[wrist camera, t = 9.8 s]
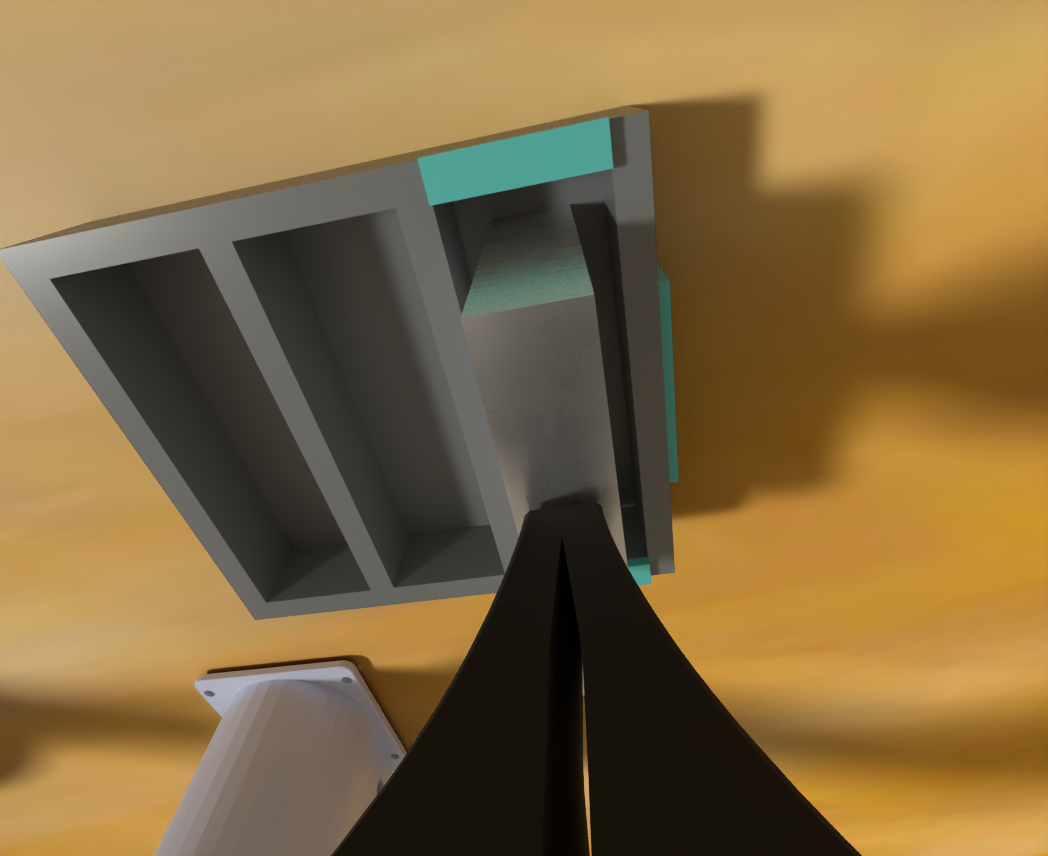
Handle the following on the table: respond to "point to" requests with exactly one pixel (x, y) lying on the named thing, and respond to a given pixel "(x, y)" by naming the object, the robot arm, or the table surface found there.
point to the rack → (361, 359)
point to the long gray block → (542, 367)
